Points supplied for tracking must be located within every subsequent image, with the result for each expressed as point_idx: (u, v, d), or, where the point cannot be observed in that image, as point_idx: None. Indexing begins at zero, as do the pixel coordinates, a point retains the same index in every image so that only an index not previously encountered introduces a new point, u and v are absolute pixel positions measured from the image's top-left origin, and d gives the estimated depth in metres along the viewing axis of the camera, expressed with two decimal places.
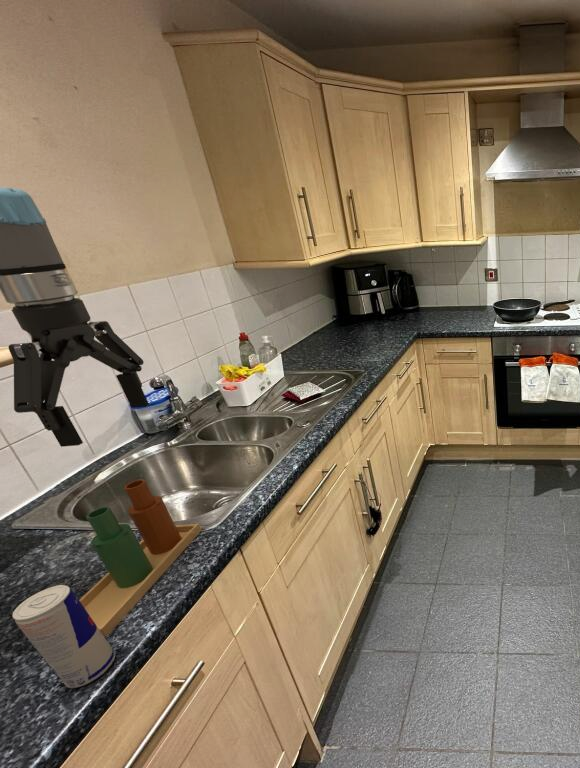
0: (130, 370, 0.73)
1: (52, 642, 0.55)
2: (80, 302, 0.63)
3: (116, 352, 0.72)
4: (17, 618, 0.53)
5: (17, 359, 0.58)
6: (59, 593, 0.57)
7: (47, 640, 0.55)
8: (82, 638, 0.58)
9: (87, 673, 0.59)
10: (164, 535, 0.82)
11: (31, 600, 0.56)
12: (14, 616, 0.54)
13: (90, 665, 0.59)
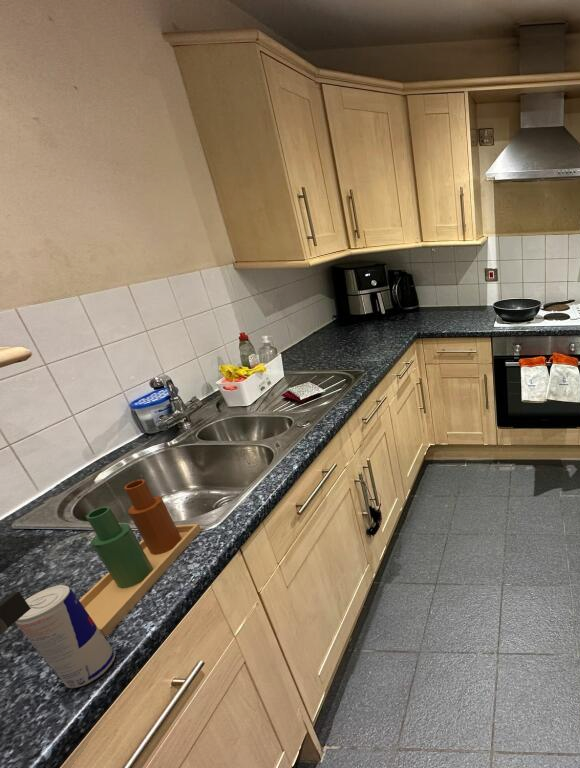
0: None
1: (52, 642, 0.55)
2: None
3: None
4: None
5: None
6: (59, 593, 0.57)
7: (47, 640, 0.55)
8: (82, 638, 0.58)
9: (87, 673, 0.59)
10: (164, 535, 0.82)
11: (31, 600, 0.56)
12: None
13: (90, 665, 0.59)
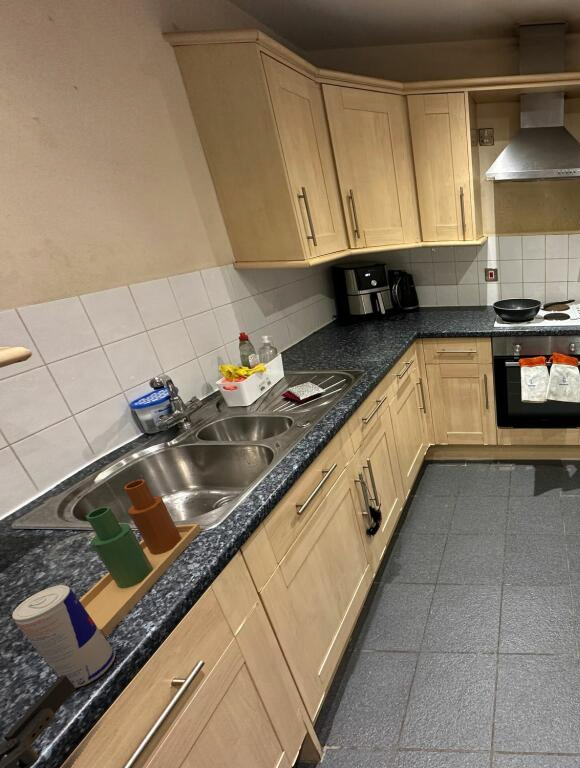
0: None
1: (52, 642, 0.55)
2: None
3: None
4: (17, 618, 0.53)
5: None
6: (59, 593, 0.57)
7: (47, 640, 0.55)
8: (82, 638, 0.58)
9: (87, 673, 0.59)
10: (164, 535, 0.82)
11: (31, 600, 0.56)
12: (14, 616, 0.54)
13: (90, 665, 0.59)
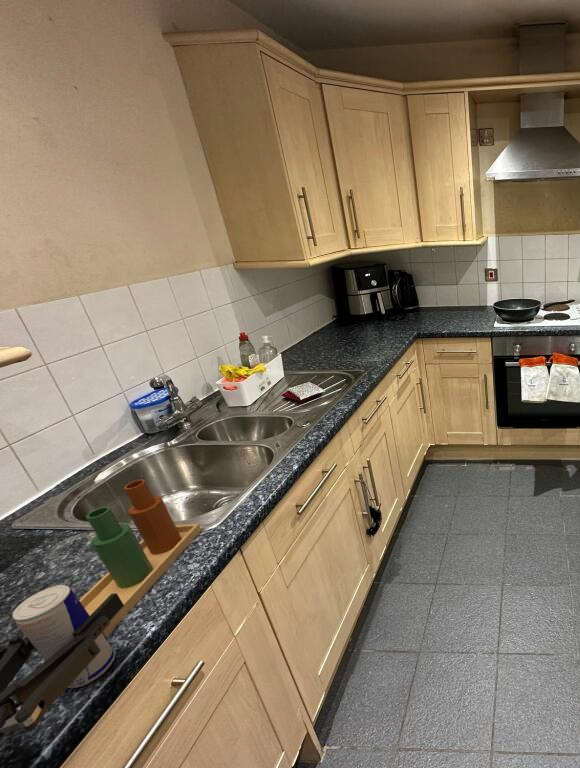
0: None
1: (52, 642, 0.55)
2: None
3: None
4: (17, 618, 0.53)
5: None
6: (59, 593, 0.57)
7: (47, 640, 0.55)
8: None
9: (87, 673, 0.59)
10: (164, 535, 0.82)
11: (31, 600, 0.56)
12: (14, 616, 0.54)
13: (90, 665, 0.59)
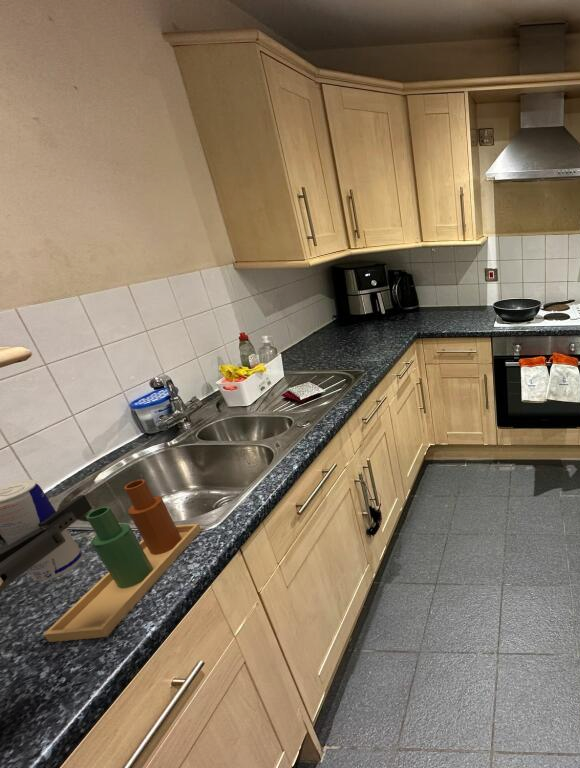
0: None
1: (18, 530, 0.57)
2: None
3: None
4: None
5: None
6: (25, 485, 0.59)
7: (12, 527, 0.57)
8: None
9: (54, 566, 0.61)
10: (164, 535, 0.82)
11: None
12: None
13: (57, 559, 0.61)
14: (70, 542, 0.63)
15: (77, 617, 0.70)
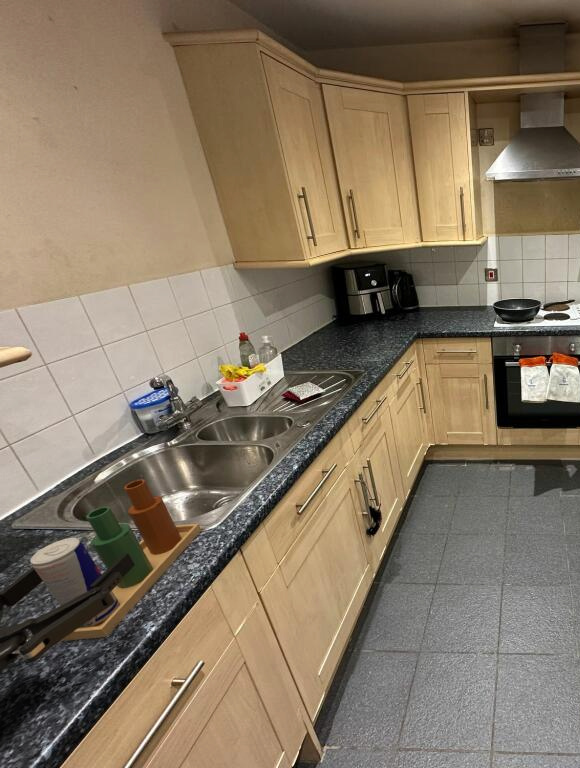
0: None
1: (65, 586, 0.64)
2: None
3: None
4: (34, 563, 0.62)
5: None
6: (70, 544, 0.65)
7: (60, 583, 0.63)
8: (90, 584, 0.66)
9: None
10: (164, 535, 0.82)
11: (46, 549, 0.64)
12: (32, 561, 0.62)
13: None
14: None
15: None
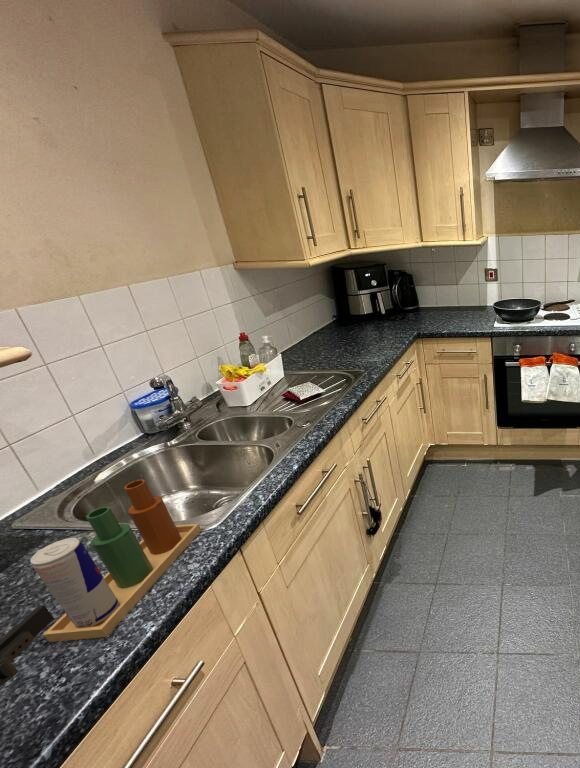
0: None
1: (65, 586, 0.64)
2: None
3: None
4: (34, 563, 0.62)
5: None
6: (70, 544, 0.65)
7: (60, 583, 0.63)
8: (90, 584, 0.66)
9: (94, 615, 0.67)
10: (164, 535, 0.82)
11: (46, 549, 0.64)
12: (32, 561, 0.62)
13: (97, 609, 0.67)
14: (108, 592, 0.69)
15: None
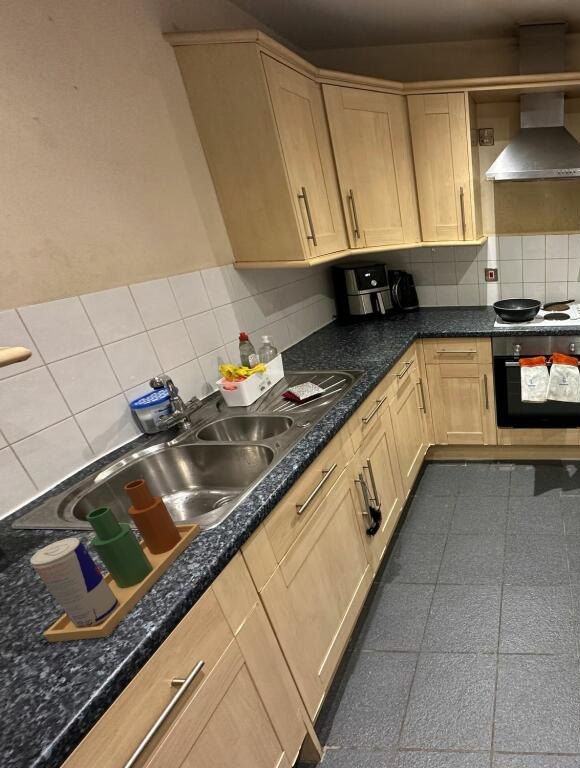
0: None
1: (65, 586, 0.64)
2: None
3: None
4: (34, 563, 0.62)
5: None
6: (70, 544, 0.65)
7: (60, 583, 0.63)
8: (90, 584, 0.66)
9: (94, 615, 0.67)
10: (164, 535, 0.82)
11: (46, 549, 0.64)
12: (32, 561, 0.62)
13: (97, 609, 0.67)
14: (108, 592, 0.69)
15: None
